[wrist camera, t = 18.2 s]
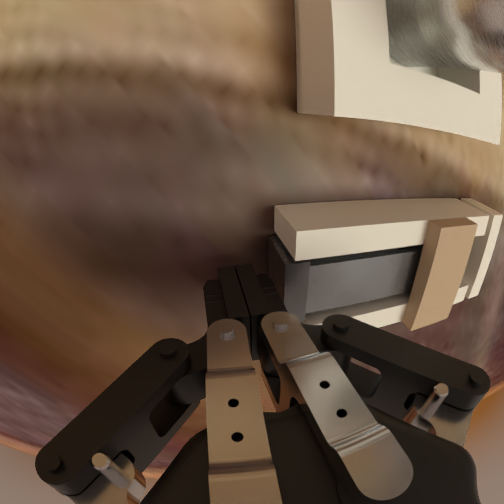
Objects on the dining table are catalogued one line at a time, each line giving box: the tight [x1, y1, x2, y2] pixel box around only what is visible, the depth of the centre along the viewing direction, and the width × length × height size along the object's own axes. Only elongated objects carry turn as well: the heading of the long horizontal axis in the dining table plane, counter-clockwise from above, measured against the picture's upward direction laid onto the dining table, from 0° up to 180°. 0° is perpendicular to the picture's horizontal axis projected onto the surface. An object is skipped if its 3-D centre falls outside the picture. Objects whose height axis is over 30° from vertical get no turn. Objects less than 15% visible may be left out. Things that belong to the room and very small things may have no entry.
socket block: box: [294, 0, 502, 145], centre depth 8 cm, size 10×10×4 cm
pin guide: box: [274, 198, 503, 331], centre depth 14 cm, size 6×14×4 cm, turn 91°
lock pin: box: [268, 235, 424, 322], centre depth 14 cm, size 3×11×3 cm, turn 91°
